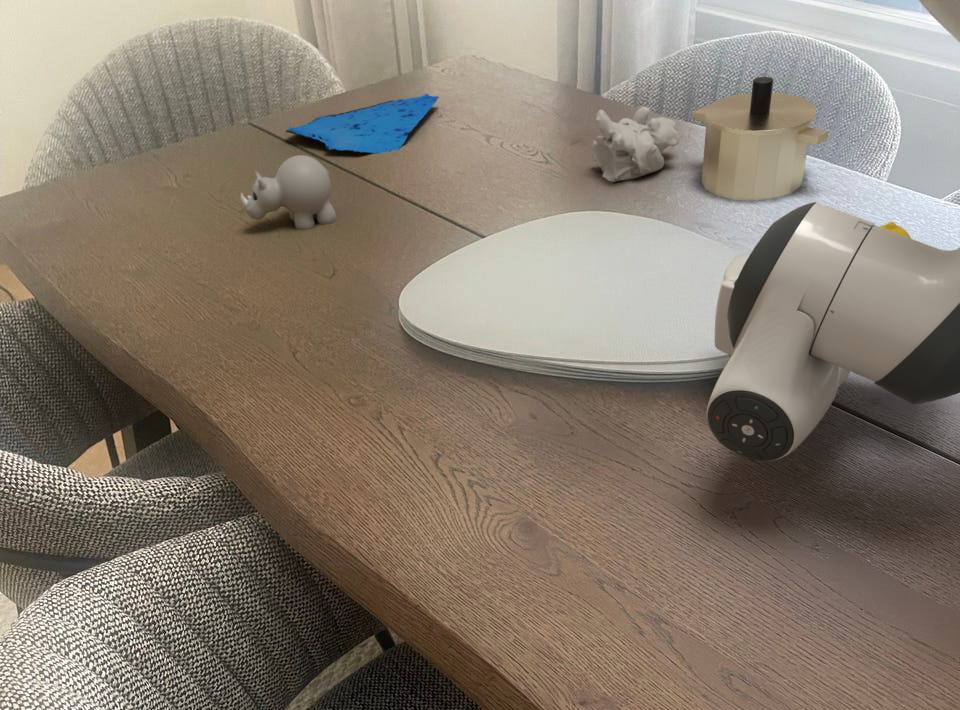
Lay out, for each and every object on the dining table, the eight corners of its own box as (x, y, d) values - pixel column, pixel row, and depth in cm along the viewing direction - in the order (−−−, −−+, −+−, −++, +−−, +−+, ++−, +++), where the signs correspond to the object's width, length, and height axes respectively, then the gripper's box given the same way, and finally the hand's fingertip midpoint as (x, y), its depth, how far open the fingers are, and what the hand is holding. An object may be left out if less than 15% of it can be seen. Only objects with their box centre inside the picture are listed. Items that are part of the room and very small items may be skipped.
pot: (720, 156, 135) (726, 89, 128) (838, 183, 125) (851, 111, 119) (666, 187, 129) (669, 118, 123) (785, 218, 119) (796, 145, 113)
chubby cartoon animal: (246, 226, 131) (229, 160, 125) (331, 208, 133) (319, 142, 127) (254, 247, 126) (236, 180, 120) (343, 227, 128) (330, 160, 122)
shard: (302, 111, 163) (299, 98, 161) (442, 100, 161) (440, 87, 159) (275, 167, 146) (272, 153, 144) (431, 155, 144) (429, 141, 142)
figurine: (589, 107, 124) (676, 72, 124) (584, 150, 134) (664, 117, 134) (614, 166, 124) (701, 130, 124) (606, 205, 134) (687, 172, 134)
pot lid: (742, 95, 128) (746, 56, 125) (836, 112, 121) (843, 72, 118) (681, 127, 122) (684, 87, 118) (776, 148, 115) (782, 106, 111)
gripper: (949, 322, 77) (986, 250, 84) (704, 278, 85) (758, 216, 93) (929, 392, 81) (965, 317, 89) (697, 344, 89) (749, 279, 97)
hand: (857, 265), depth 91 cm, fingers open, 8 cm apart
